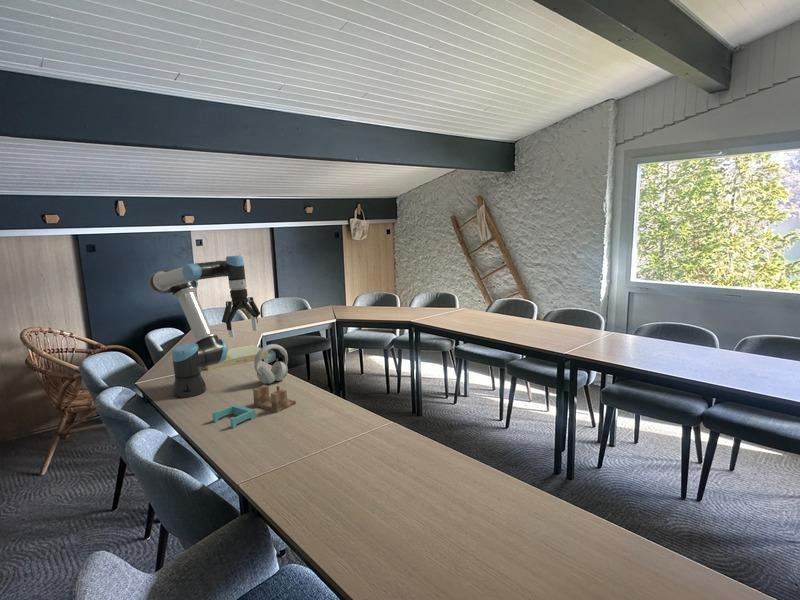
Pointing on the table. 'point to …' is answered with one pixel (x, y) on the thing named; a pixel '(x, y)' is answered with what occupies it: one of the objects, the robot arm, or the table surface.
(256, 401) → the stand
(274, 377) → the headphones
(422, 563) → the table surface
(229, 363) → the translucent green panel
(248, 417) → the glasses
